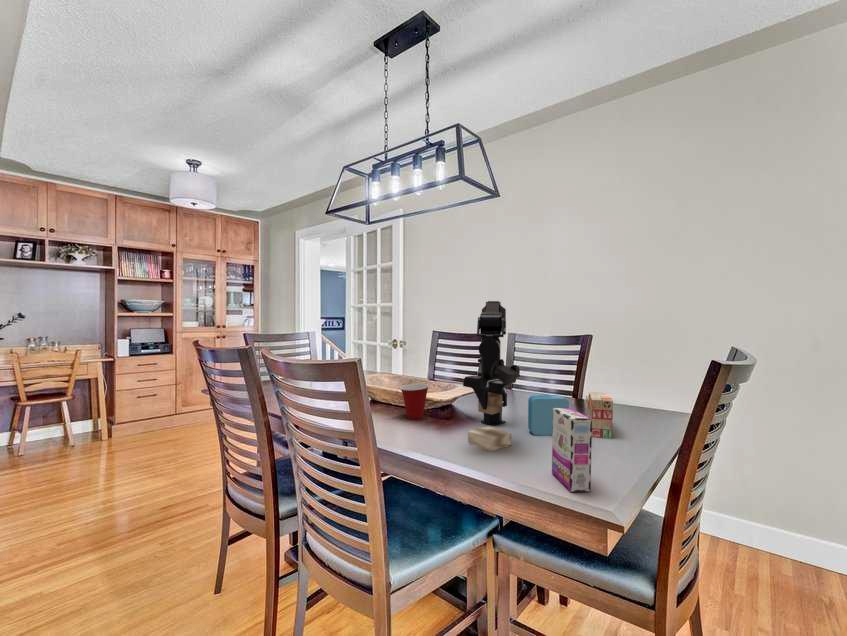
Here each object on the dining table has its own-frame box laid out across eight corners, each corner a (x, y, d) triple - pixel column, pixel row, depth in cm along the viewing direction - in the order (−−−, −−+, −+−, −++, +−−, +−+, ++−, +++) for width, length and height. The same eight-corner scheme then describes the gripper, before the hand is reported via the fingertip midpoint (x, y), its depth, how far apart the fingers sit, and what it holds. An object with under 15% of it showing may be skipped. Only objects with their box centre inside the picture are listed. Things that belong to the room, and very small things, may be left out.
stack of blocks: (585, 420, 154) (586, 386, 154) (604, 421, 152) (604, 387, 152) (591, 437, 133) (591, 398, 133) (612, 439, 132) (613, 400, 131)
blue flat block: (563, 431, 140) (564, 395, 139) (568, 435, 135) (569, 398, 135) (527, 431, 139) (528, 395, 139) (531, 435, 135) (531, 398, 135)
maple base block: (489, 438, 132) (489, 426, 132) (511, 446, 125) (511, 433, 125) (467, 444, 127) (468, 431, 127) (489, 452, 120) (489, 438, 119)
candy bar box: (592, 492, 93) (593, 418, 93) (570, 493, 93) (571, 419, 92) (570, 472, 104) (571, 406, 104) (550, 473, 104) (551, 407, 103)
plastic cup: (400, 413, 162) (400, 382, 161) (428, 413, 162) (428, 382, 161) (398, 421, 151) (398, 388, 151) (428, 421, 151) (429, 388, 151)
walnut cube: (488, 408, 129) (488, 392, 129) (502, 411, 125) (502, 394, 125) (478, 411, 126) (478, 394, 126) (491, 414, 122) (492, 397, 122)
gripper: (493, 361, 113) (492, 419, 113) (531, 355, 126) (531, 407, 126) (461, 357, 121) (461, 411, 121) (500, 352, 134) (500, 401, 134)
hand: (490, 408), depth 126 cm, fingers closed on walnut cube, 5 cm apart
